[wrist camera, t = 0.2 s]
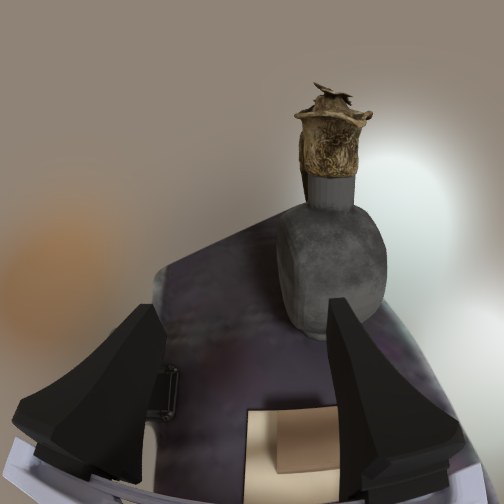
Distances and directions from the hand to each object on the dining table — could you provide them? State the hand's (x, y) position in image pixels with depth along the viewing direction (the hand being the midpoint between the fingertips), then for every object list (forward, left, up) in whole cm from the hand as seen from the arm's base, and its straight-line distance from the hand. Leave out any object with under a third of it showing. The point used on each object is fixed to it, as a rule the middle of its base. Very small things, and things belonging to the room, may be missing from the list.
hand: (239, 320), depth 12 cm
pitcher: (+22, -8, -21) cm, 31 cm away
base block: (+2, -4, -21) cm, 21 cm away
